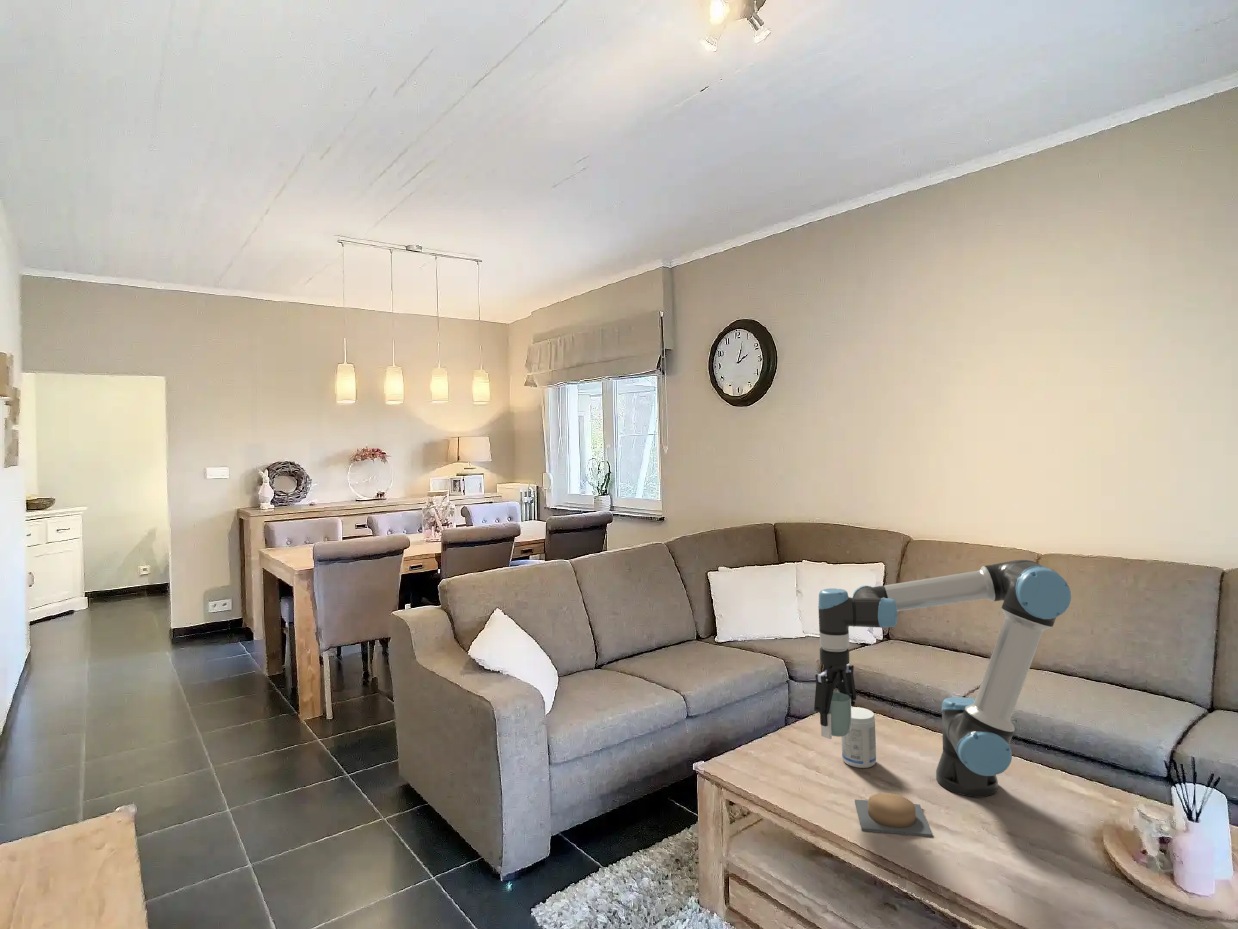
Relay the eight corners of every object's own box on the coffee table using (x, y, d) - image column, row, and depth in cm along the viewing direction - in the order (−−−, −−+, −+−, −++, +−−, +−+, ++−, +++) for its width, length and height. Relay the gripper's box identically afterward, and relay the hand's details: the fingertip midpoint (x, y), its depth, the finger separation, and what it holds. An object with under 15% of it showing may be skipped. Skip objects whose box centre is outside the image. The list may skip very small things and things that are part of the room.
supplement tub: (864, 753, 209) (863, 705, 209) (883, 767, 200) (882, 716, 200) (835, 757, 207) (834, 708, 207) (852, 771, 198) (852, 720, 198)
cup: (853, 740, 179) (852, 702, 179) (822, 739, 181) (821, 701, 181) (850, 728, 187) (849, 692, 187) (820, 727, 189) (819, 690, 188)
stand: (919, 806, 178) (919, 793, 178) (932, 837, 164) (932, 822, 164) (854, 801, 181) (854, 788, 181) (861, 830, 167) (861, 816, 167)
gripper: (845, 637, 193) (847, 718, 193) (797, 652, 180) (800, 739, 181) (869, 643, 187) (871, 726, 187) (822, 659, 174) (824, 748, 175)
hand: (836, 732), depth 184 cm, fingers closed on cup, 8 cm apart
